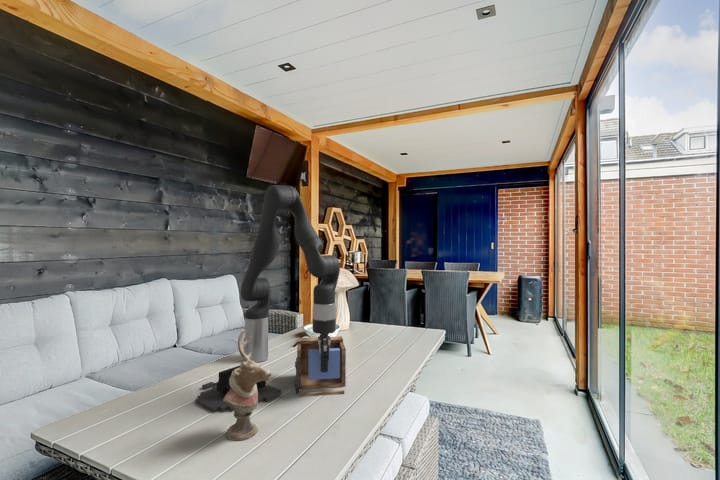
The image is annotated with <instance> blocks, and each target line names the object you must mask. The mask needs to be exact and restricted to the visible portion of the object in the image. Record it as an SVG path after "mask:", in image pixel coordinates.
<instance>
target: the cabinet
mask: <svg viewBox="0 0 720 480" xmlns="http://www.w3.org/2000/svg"><path fill="white" fill-rule="evenodd" d="M330 338H331V343H330V348H339V349H340V378H334V379H317V380H309V349H319V344H318V336H317V337H316V336H315V337H297V346H296V347H297V350H296V352H297V353H296V358H295V362H294V368H295V380H294V387H295V393H296V394H299V397H313V396H328V395H343V394H345V390H344V389H338V390H324V391H323V390H322V391H309V392H301V391H300V390H315V389H330V388H343V387H347V386H346V384H347V383H346V379H347V378H346V371H347V370H346V366H347V365H346V364H347V363H346V360H347V359H346V357H347V356H346V355H347V354H346V353H347V352H346V351H347V350H346V347H345V344H344V338H343V336H342V335H341V336H330Z"/></svg>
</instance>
